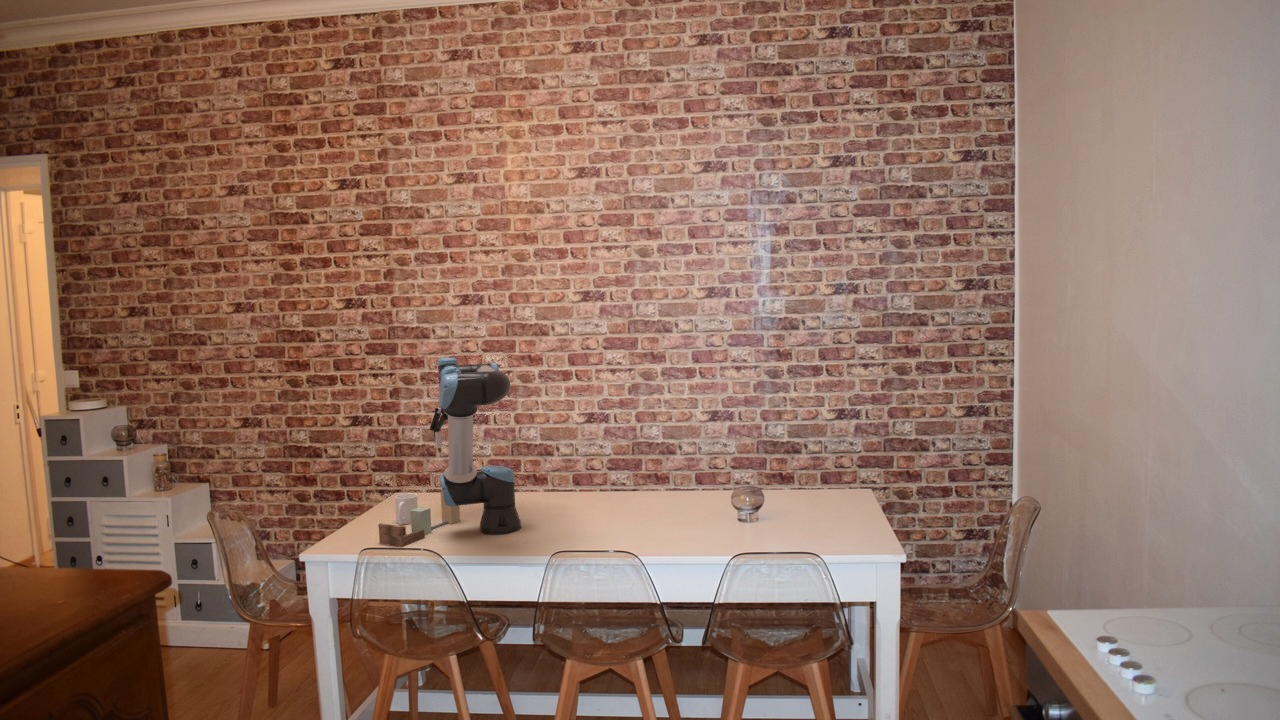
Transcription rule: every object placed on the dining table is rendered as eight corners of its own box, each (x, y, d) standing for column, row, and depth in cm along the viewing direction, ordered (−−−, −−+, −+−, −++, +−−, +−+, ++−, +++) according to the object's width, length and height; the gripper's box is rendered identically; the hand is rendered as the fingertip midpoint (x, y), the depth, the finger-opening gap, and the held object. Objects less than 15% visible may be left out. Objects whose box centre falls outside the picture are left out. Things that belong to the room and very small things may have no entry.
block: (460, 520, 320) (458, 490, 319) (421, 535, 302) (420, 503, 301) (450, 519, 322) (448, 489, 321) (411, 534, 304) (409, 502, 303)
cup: (421, 518, 326) (419, 493, 325) (411, 527, 314) (409, 500, 313) (400, 518, 326) (399, 493, 326) (389, 527, 314) (388, 501, 314)
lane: (424, 537, 299) (423, 518, 299) (401, 546, 289) (400, 527, 289) (403, 534, 304) (402, 515, 304) (379, 543, 294) (378, 524, 294)
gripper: (479, 396, 327) (482, 449, 329) (432, 393, 338) (434, 444, 341) (467, 399, 320) (470, 453, 322) (419, 396, 332) (422, 448, 334)
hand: (452, 449), depth 332 cm, fingers open, 13 cm apart
